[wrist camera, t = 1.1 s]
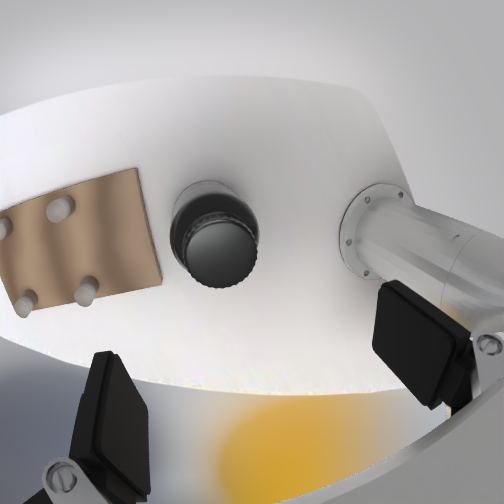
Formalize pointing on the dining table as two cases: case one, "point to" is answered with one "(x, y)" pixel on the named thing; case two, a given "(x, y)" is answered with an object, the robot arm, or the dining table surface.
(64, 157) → the dining table surface
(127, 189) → the peg board
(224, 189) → the supplement bottle
